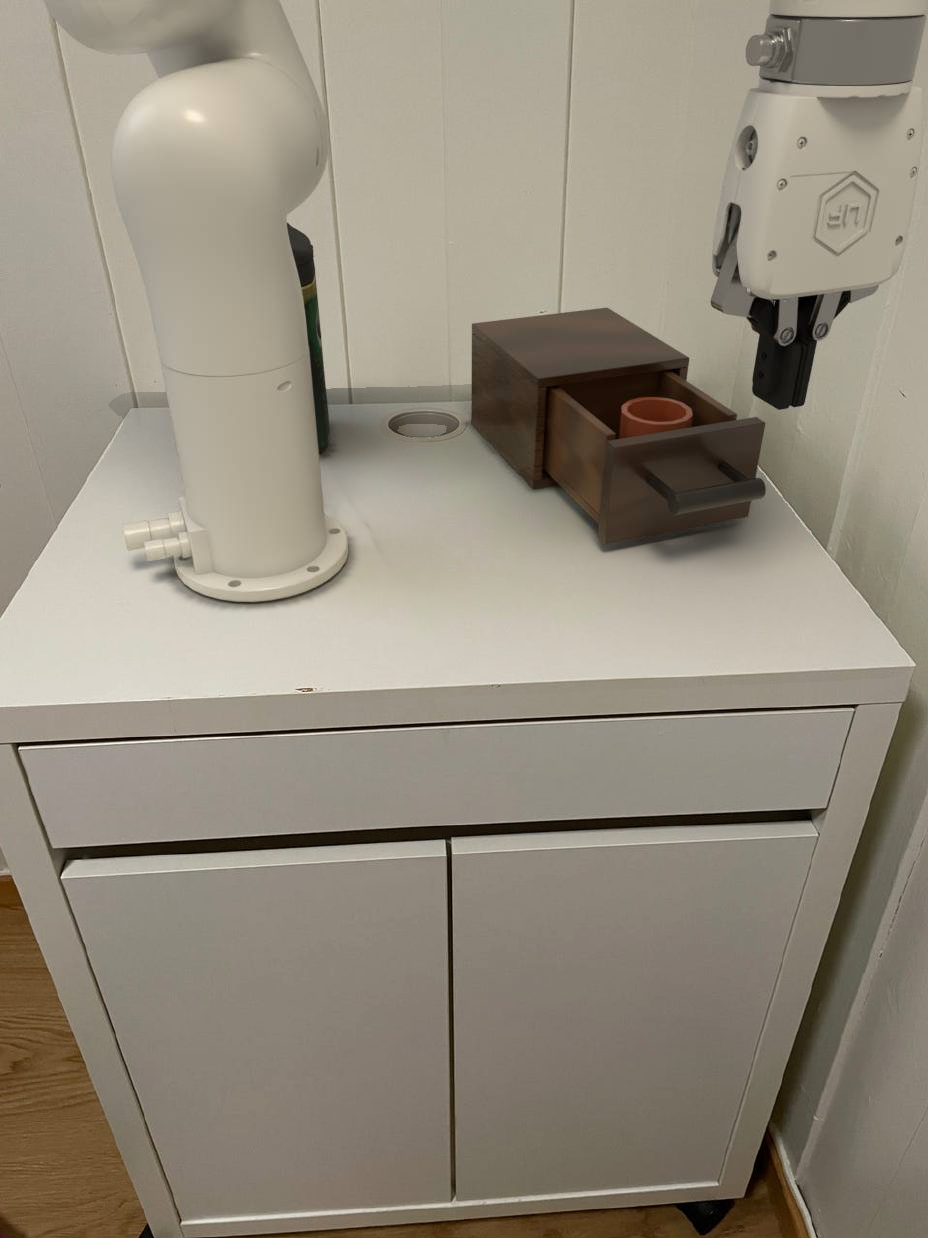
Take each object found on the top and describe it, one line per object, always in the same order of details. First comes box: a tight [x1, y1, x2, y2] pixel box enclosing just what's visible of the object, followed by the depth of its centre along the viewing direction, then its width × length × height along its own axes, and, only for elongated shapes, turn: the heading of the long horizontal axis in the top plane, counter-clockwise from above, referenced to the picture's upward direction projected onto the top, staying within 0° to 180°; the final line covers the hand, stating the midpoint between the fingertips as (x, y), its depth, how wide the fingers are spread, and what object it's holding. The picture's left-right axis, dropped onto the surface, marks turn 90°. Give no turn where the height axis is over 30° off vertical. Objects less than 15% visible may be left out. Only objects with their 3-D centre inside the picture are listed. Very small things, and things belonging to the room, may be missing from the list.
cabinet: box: [470, 307, 690, 490], centre depth 86 cm, size 15×14×10 cm
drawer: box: [542, 370, 767, 546], centre depth 75 cm, size 18×12×8 cm
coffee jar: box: [287, 222, 331, 453], centre depth 84 cm, size 10×8×19 cm
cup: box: [618, 397, 693, 439], centre depth 77 cm, size 5×6×6 cm
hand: (777, 399), depth 60 cm, fingers closed
